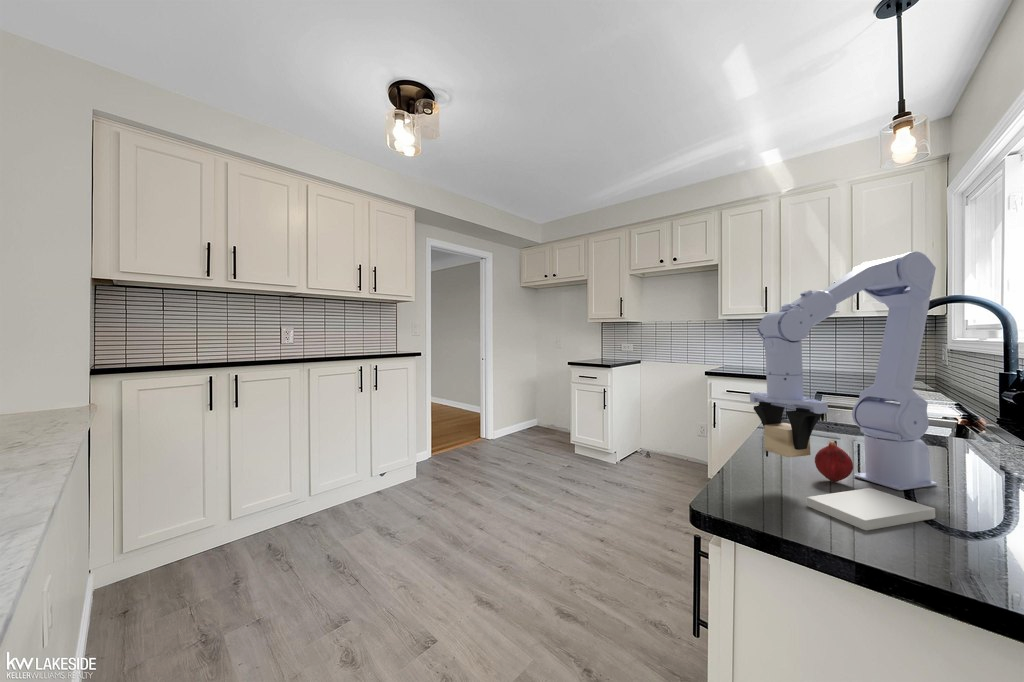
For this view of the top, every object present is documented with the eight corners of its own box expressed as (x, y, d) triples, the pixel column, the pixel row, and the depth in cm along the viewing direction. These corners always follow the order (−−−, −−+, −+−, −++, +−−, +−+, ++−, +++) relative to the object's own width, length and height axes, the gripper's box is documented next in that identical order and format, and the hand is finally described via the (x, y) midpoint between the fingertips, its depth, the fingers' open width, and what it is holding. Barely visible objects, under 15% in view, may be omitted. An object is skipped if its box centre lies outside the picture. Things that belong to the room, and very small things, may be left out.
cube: (786, 448, 76) (785, 422, 76) (810, 455, 71) (809, 428, 71) (765, 450, 75) (764, 424, 75) (788, 457, 70) (787, 430, 70)
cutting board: (870, 496, 68) (870, 487, 68) (935, 518, 60) (935, 508, 60) (806, 505, 65) (806, 497, 65) (865, 530, 57) (865, 520, 57)
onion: (861, 488, 72) (859, 445, 72) (826, 487, 73) (824, 445, 73) (841, 477, 78) (839, 438, 78) (809, 476, 79) (807, 437, 79)
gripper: (736, 372, 80) (739, 438, 79) (803, 378, 65) (806, 457, 65) (764, 371, 81) (767, 435, 81) (836, 376, 67) (839, 453, 67)
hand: (786, 445), depth 73 cm, fingers closed on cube, 5 cm apart
